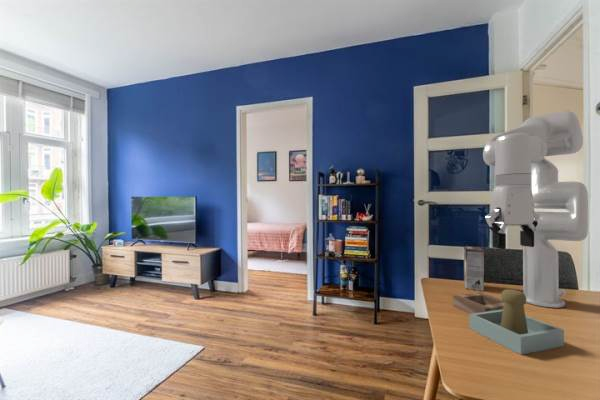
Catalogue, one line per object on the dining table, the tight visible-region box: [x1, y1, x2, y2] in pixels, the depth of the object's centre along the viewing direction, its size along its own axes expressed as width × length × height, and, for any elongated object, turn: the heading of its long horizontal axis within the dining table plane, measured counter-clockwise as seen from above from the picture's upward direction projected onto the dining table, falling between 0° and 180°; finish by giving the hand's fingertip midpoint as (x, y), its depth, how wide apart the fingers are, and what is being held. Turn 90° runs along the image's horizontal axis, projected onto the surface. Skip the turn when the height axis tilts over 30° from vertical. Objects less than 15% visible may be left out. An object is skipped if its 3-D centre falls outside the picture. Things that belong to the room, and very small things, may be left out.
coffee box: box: [463, 245, 485, 292], centre depth 117 cm, size 9×6×16 cm
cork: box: [500, 289, 528, 335], centre depth 74 cm, size 6×6×11 cm
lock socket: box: [452, 292, 504, 314], centre depth 91 cm, size 12×12×4 cm
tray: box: [468, 309, 565, 355], centre depth 74 cm, size 14×14×4 cm
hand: (513, 247), depth 74 cm, fingers open, 9 cm apart
